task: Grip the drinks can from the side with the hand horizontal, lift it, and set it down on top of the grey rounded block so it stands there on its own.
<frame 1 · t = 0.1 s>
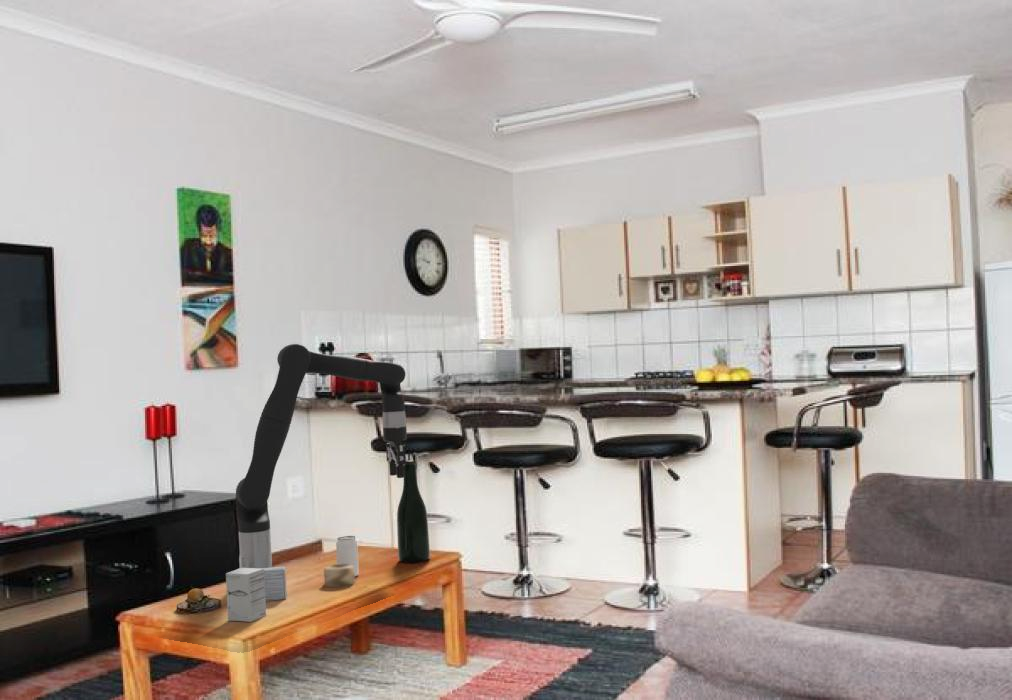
hand: (396, 476, 306), 29 cm above the table, tool pointing down, fingers open, 8 cm apart
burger: (198, 610, 266), on the table
grey rounded block: (339, 584, 288), on the table
medicine box: (272, 599, 273), on the table
dark green wine bottle: (414, 560, 317), on the table
can: (348, 576, 298), on the table
supplement box: (247, 619, 253), on the table
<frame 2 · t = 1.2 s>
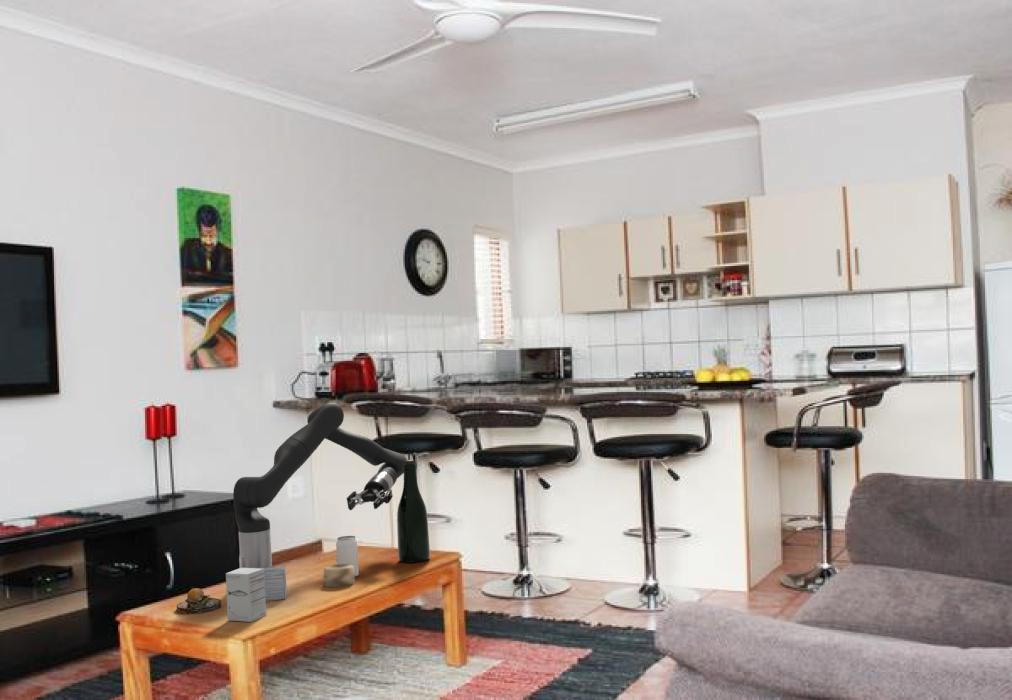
hand: (362, 506, 306), 20 cm above the table, tool tilted 75°, fingers open, 8 cm apart
nothing on the table moved.
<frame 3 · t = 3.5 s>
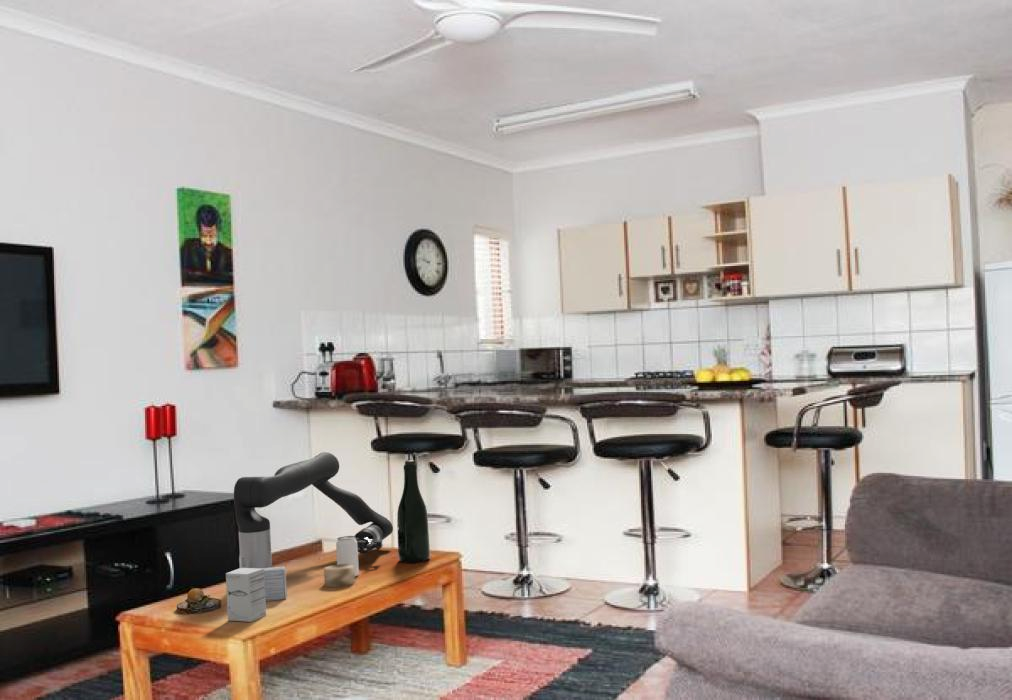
hand: (354, 549, 307), 7 cm above the table, tool horizontal, fingers open, 8 cm apart
nothing on the table moved.
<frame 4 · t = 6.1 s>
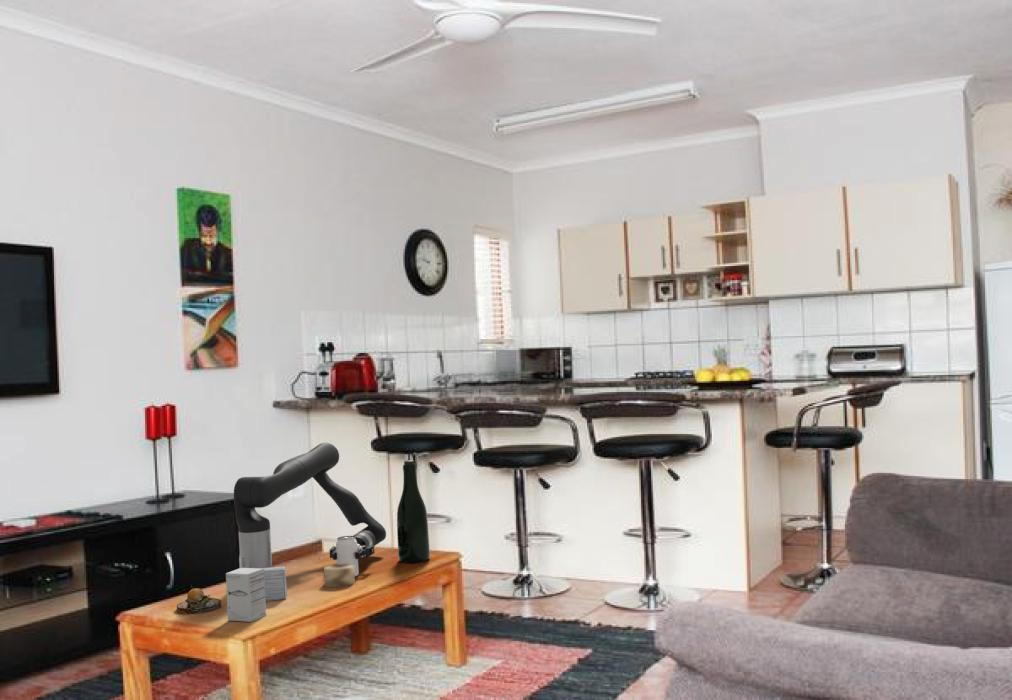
hand: (345, 556, 296), 7 cm above the table, tool horizontal, fingers closed on can, 6 cm apart
can: (348, 576, 298), on the table, touching gripper
everything else where it was.
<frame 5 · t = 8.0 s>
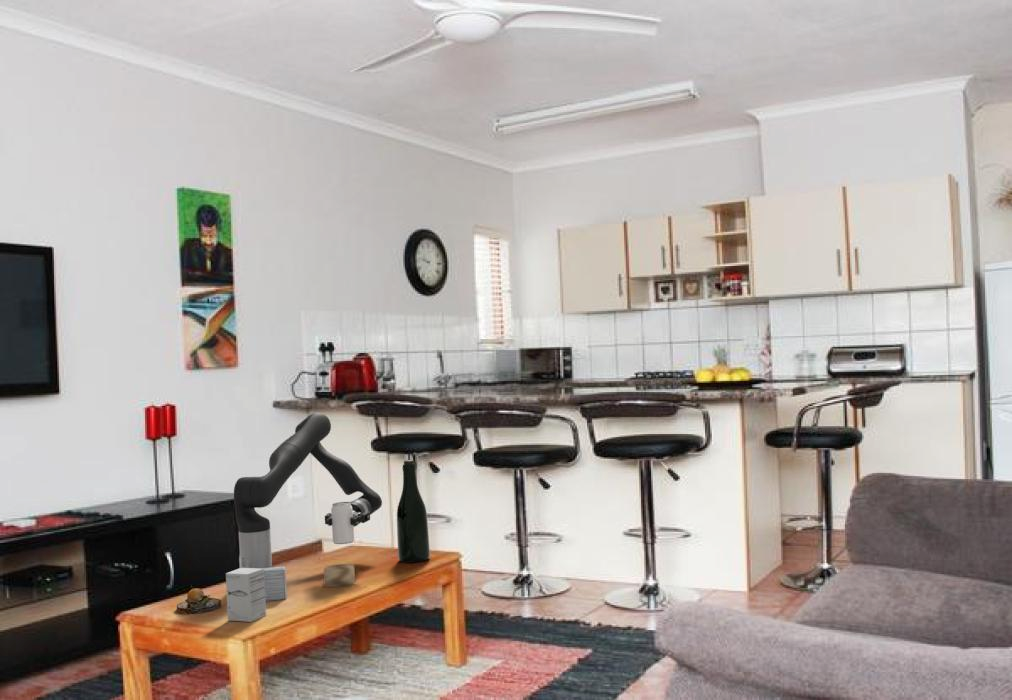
hand: (340, 522, 293), 18 cm above the table, tool horizontal, fingers closed on can, 6 cm apart
can: (343, 542, 295), point 11 cm above the table, touching gripper
everything else where it was.
when the fingers open (13 cm above the table, at t = 10.3 s): can drops 1 cm, resting on grey rounded block.
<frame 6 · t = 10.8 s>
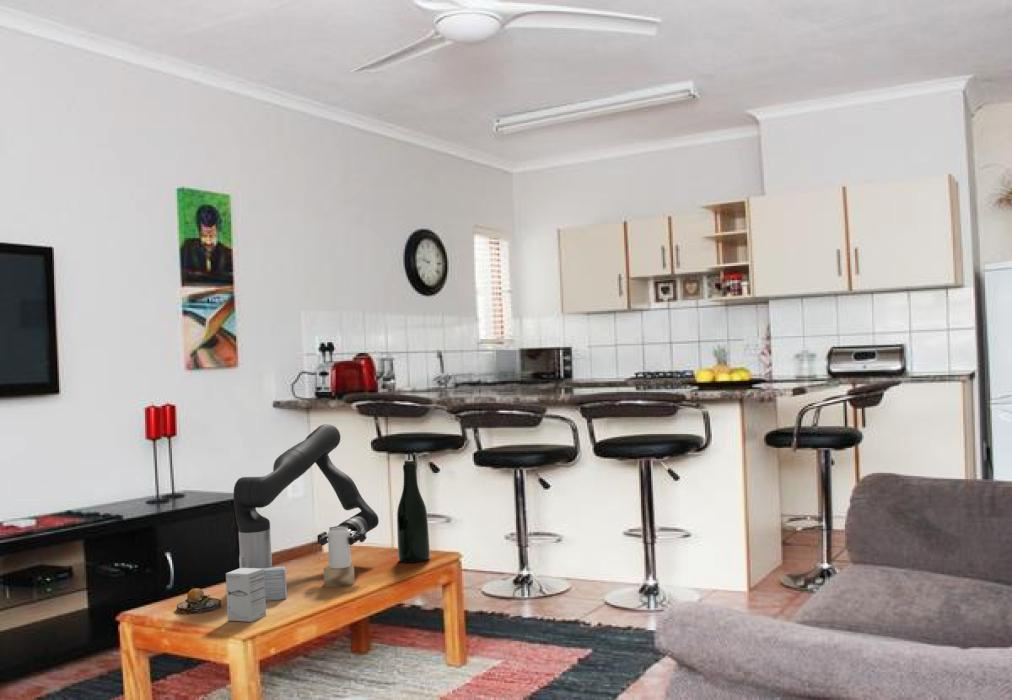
hand: (335, 541, 286), 13 cm above the table, tool horizontal, fingers open, 8 cm apart
grey rounded block: (339, 584, 288), on the table, touching can
can: (340, 567, 288), point 5 cm above the table, touching grey rounded block
everything else where it was.
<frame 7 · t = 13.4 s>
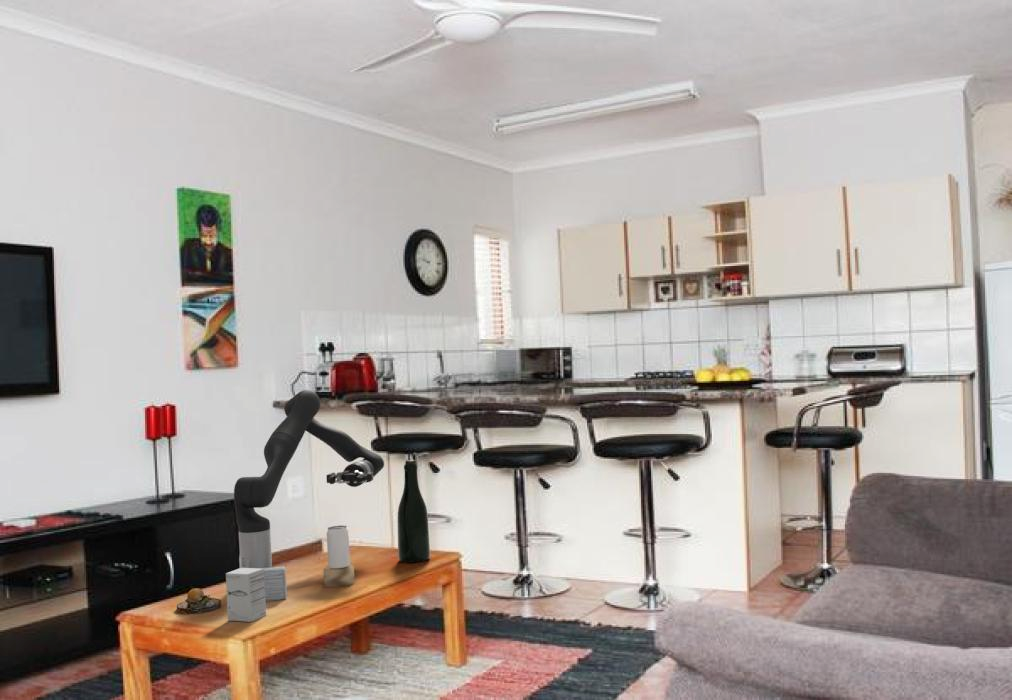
hand: (344, 480, 299), 30 cm above the table, tool horizontal, fingers open, 8 cm apart
nothing on the table moved.
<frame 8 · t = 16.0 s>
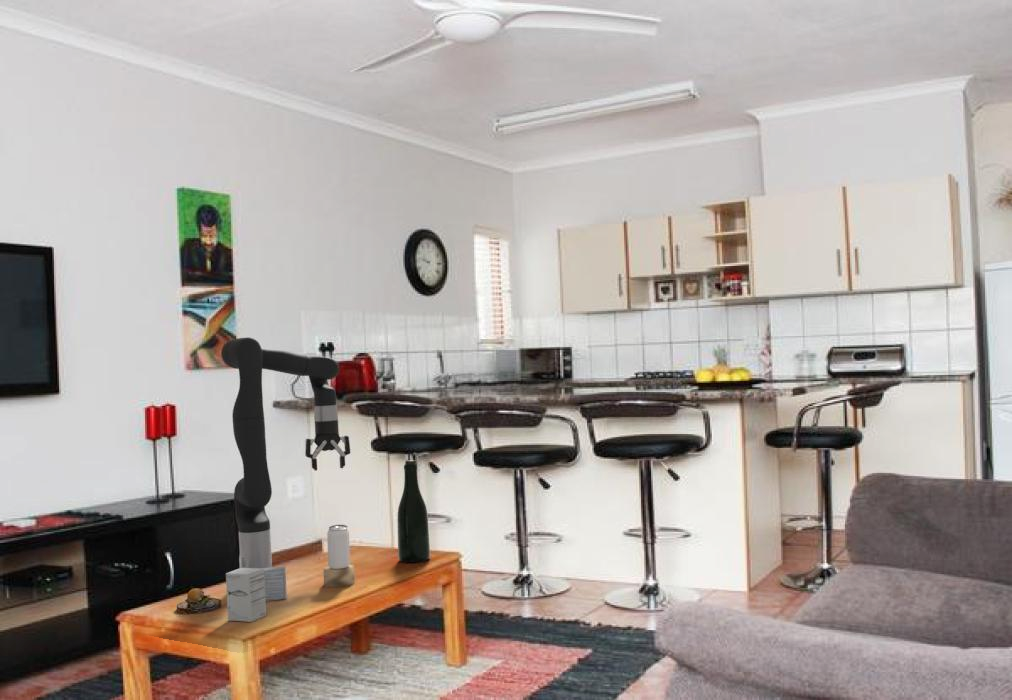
hand: (328, 469, 312), 32 cm above the table, tool pointing down, fingers open, 8 cm apart
at the end: can inside the target area on the grey rounded block (0.2 cm from its centre), point 5.2 cm above the grey rounded block's base; can tilted 6°; can touching grey rounded block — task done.
